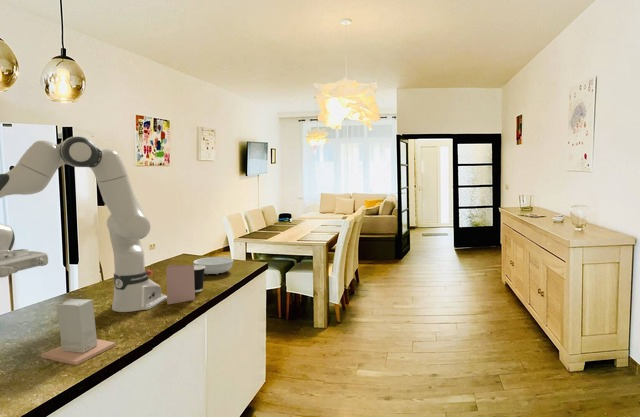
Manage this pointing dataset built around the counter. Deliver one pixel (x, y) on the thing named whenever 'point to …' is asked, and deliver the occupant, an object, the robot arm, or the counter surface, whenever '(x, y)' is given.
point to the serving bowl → (215, 264)
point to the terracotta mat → (77, 353)
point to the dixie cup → (198, 277)
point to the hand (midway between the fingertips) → (30, 266)
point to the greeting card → (180, 283)
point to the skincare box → (77, 325)
